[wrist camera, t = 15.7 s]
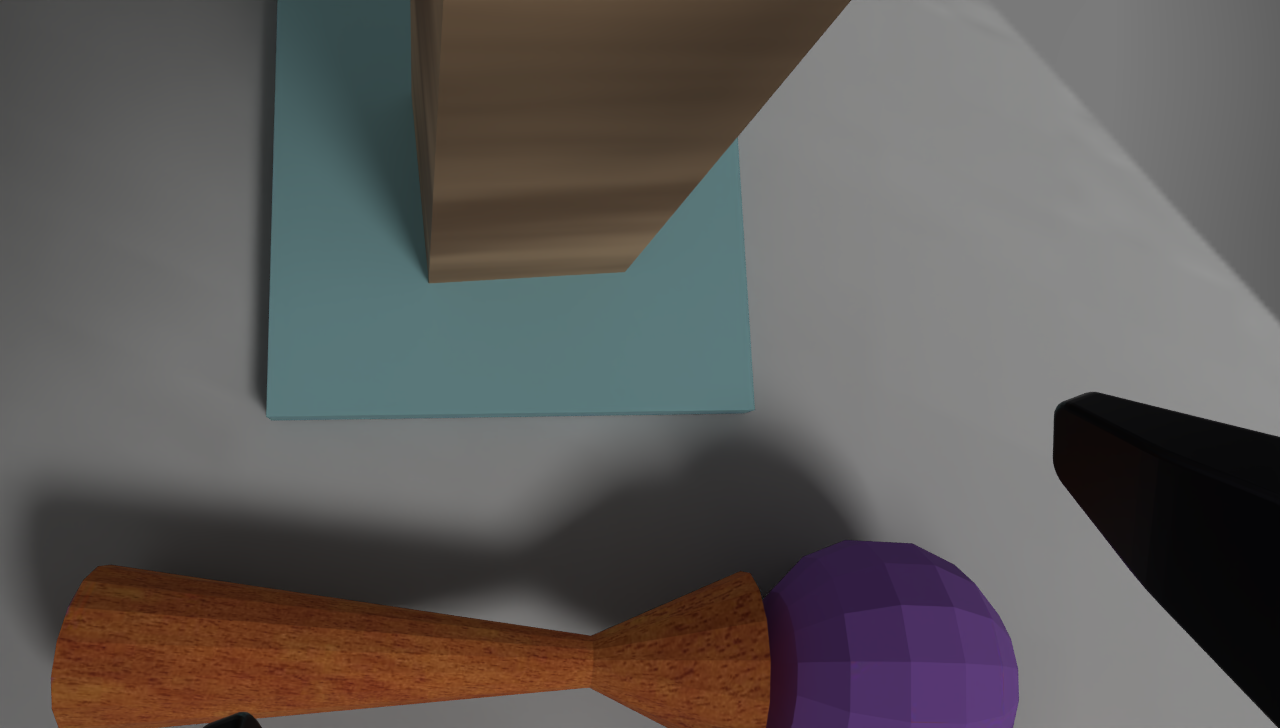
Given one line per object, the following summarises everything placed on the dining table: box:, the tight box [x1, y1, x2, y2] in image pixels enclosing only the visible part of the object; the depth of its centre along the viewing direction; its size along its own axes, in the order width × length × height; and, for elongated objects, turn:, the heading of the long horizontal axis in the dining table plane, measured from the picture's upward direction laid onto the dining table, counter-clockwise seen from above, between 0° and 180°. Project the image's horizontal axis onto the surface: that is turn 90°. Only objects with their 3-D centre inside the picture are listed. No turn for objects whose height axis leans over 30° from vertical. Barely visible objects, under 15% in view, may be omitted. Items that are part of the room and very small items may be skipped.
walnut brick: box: [410, 0, 851, 283], centre depth 17 cm, size 5×5×13 cm
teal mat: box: [266, 0, 755, 420], centre depth 24 cm, size 12×12×1 cm
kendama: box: [51, 540, 1019, 728], centre depth 20 cm, size 6×6×20 cm
